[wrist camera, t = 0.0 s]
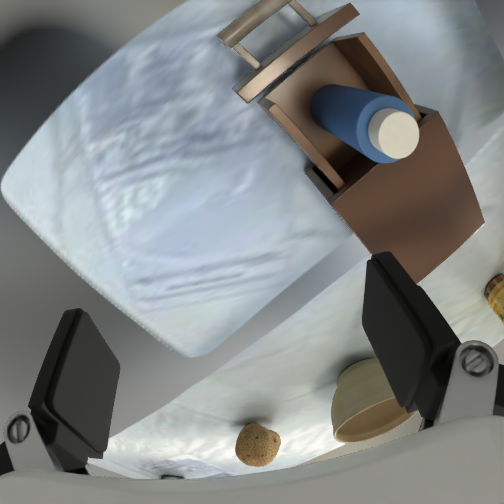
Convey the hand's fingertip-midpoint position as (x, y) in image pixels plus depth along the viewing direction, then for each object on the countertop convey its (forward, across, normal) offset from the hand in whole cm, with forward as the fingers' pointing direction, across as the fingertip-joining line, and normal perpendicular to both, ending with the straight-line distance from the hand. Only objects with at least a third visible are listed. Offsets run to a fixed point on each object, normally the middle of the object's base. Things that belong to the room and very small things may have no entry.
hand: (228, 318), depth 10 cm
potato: (+24, +5, +54) cm, 59 cm away
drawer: (+23, -9, -5) cm, 25 cm away
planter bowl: (+24, -17, +43) cm, 52 cm away
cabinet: (+23, -17, +7) cm, 30 cm away
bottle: (+21, -11, -2) cm, 24 cm away
